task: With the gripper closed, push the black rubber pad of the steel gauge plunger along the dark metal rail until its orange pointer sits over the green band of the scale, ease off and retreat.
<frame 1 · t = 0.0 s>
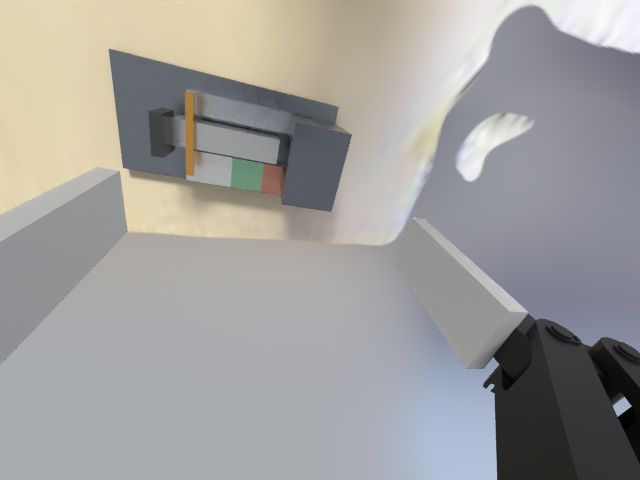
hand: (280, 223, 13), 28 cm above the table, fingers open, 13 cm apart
plunger: (222, 141, 32), point 5 cm above the table, slide at 0.0 cm
gauge base: (232, 136, 36), on the table
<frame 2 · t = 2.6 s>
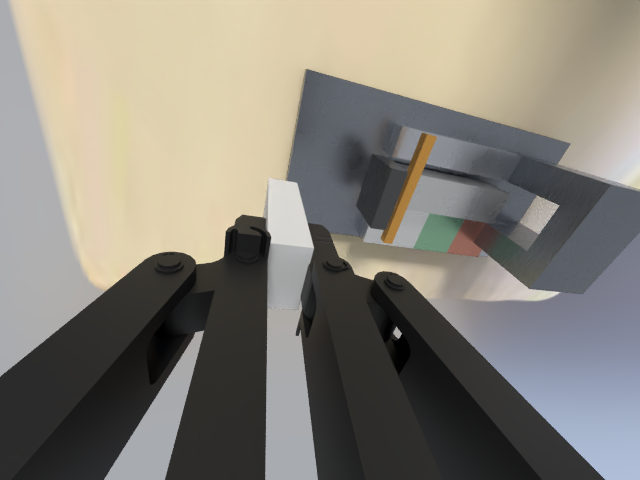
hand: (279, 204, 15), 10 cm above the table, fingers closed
plunger: (439, 198, 22), point 5 cm above the table, slide at 0.0 cm
gauge base: (420, 181, 27), on the table
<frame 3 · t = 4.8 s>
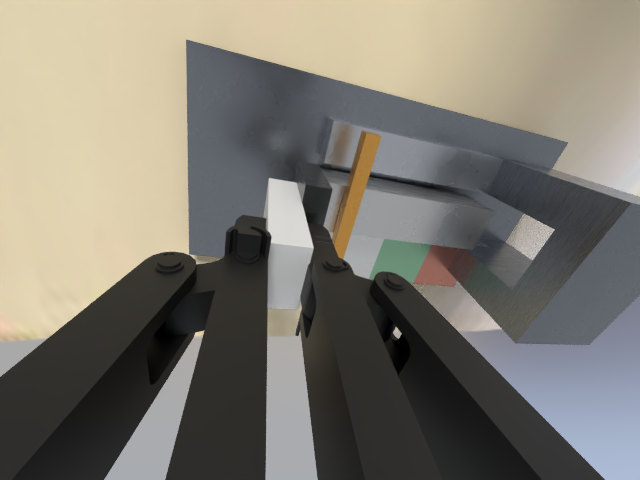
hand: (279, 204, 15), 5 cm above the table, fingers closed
plunger: (397, 219, 17), point 5 cm above the table, slide at 0.5 cm, touching gripper
gauge base: (375, 193, 21), on the table
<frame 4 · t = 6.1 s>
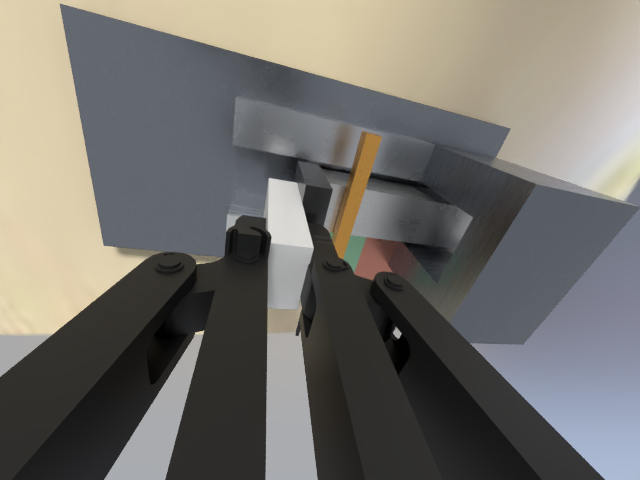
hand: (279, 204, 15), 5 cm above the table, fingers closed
plunger: (397, 220, 17), point 5 cm above the table, slide at 5.8 cm, touching gripper
gauge base: (307, 182, 19), on the table
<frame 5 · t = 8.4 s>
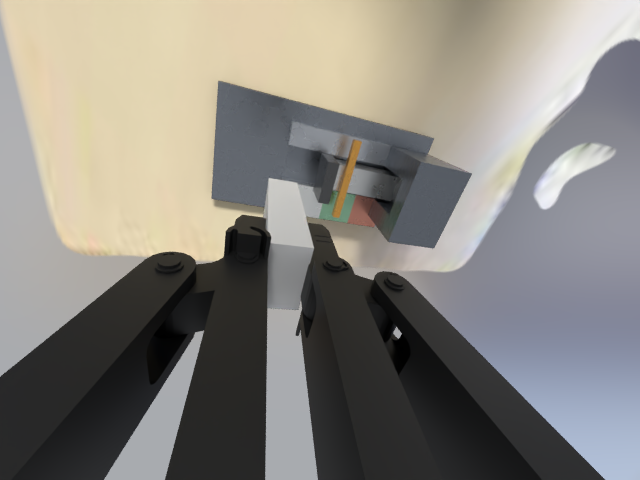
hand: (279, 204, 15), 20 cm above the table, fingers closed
plunger: (371, 185, 32), point 5 cm above the table, slide at 5.9 cm
gauge base: (322, 166, 35), on the table
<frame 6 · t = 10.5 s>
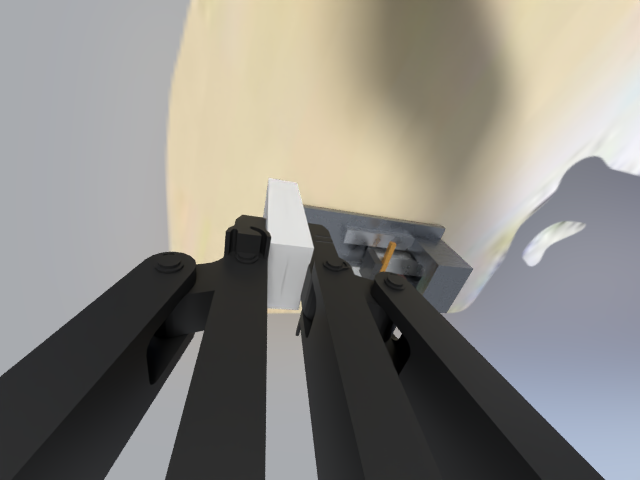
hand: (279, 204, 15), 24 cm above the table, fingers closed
plunger: (401, 267, 45), point 5 cm above the table, slide at 5.9 cm
gauge base: (363, 248, 47), on the table
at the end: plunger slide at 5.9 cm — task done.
